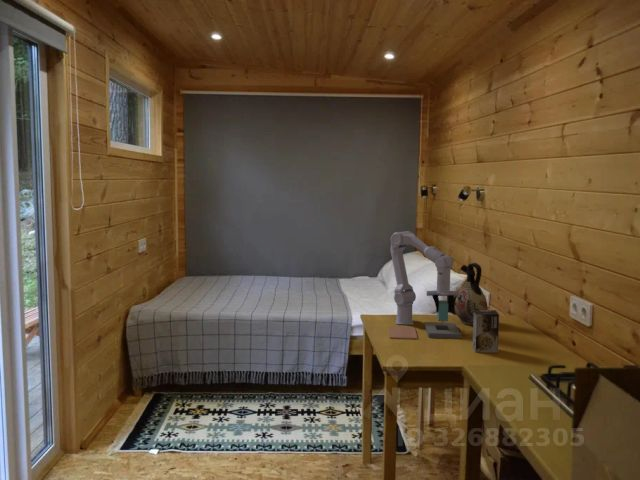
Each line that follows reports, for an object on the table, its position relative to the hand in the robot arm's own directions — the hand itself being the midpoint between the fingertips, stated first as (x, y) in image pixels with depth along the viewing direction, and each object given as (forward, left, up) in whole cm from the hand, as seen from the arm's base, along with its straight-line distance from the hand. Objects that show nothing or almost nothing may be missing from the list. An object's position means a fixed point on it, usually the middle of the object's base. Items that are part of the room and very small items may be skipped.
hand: (442, 311), depth 240 cm
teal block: (0, 0, -3) cm, 4 cm away
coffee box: (+24, +14, -10) cm, 29 cm away
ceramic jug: (-16, +16, -10) cm, 25 cm away
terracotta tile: (+4, -18, -10) cm, 21 cm away
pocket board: (0, 0, -10) cm, 10 cm away
